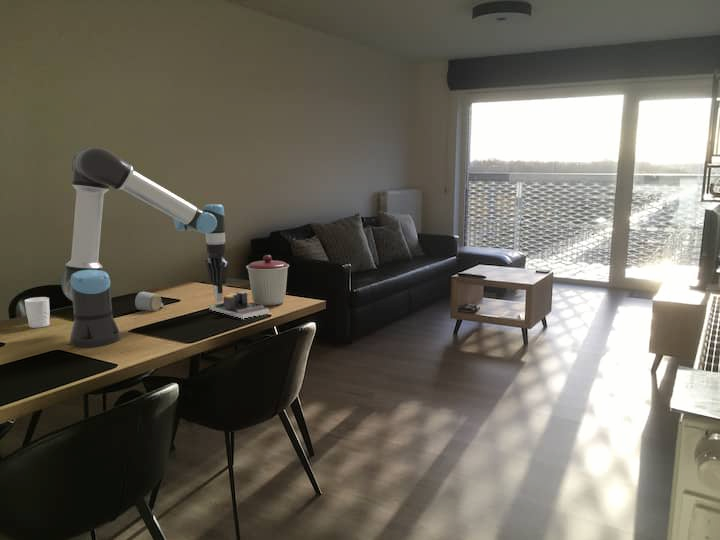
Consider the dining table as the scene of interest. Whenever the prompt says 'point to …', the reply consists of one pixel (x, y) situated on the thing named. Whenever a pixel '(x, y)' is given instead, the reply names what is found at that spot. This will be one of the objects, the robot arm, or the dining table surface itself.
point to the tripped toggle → (229, 302)
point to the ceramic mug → (148, 301)
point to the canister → (268, 281)
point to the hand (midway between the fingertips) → (218, 300)
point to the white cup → (38, 312)
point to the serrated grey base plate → (241, 307)
